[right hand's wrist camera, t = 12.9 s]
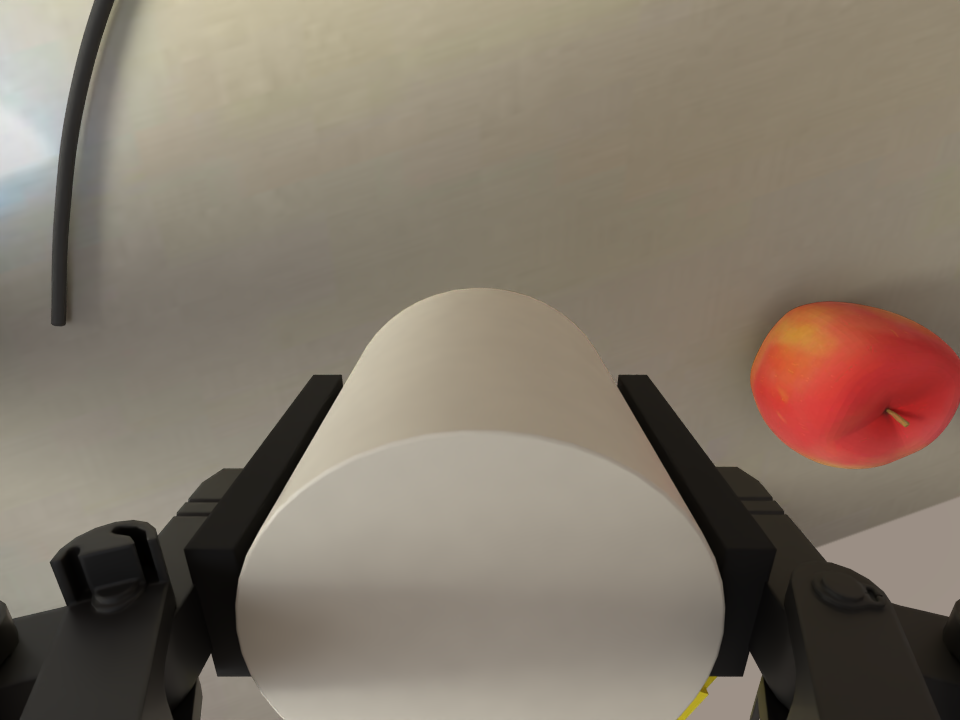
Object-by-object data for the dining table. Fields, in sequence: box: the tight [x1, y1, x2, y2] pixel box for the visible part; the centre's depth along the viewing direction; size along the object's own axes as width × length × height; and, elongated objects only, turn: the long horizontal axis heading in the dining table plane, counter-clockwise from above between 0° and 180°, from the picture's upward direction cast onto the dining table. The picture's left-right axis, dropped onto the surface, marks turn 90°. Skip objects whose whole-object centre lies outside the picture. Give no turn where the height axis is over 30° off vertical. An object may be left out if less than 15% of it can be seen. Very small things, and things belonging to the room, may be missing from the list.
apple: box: [750, 302, 960, 469], centre depth 30 cm, size 10×10×10 cm
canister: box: [235, 288, 725, 720], centre depth 11 cm, size 7×7×7 cm
